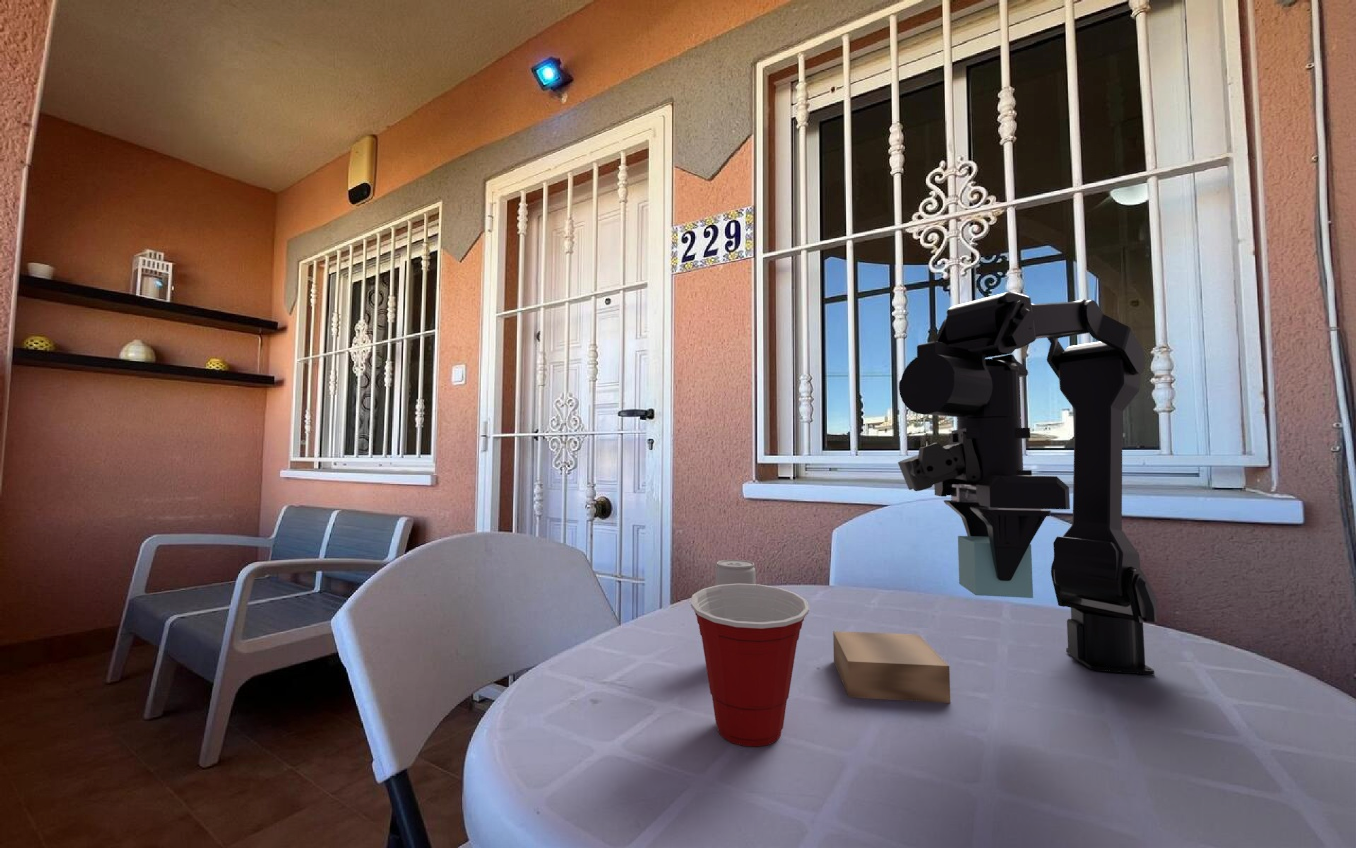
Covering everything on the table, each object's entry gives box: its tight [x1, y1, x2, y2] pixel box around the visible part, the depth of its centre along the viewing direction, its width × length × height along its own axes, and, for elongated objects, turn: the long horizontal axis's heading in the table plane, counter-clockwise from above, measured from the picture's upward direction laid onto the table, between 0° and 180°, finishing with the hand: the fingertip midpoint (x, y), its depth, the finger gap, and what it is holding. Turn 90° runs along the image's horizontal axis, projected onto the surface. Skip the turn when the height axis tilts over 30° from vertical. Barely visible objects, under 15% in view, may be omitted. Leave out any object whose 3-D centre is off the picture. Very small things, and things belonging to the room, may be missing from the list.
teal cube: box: [957, 535, 1034, 599], centre depth 54 cm, size 5×5×5 cm
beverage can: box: [715, 559, 756, 586], centre depth 66 cm, size 5×5×12 cm
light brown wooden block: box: [832, 630, 951, 704], centre depth 61 cm, size 10×10×4 cm
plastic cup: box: [689, 583, 811, 748], centre depth 49 cm, size 11×11×12 cm
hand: (993, 574), depth 54 cm, fingers closed on teal cube, 5 cm apart
